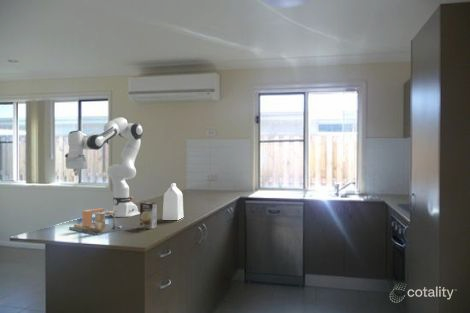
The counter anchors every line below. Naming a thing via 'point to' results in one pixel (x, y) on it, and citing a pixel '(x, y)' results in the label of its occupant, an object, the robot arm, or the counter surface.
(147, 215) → the coffee box
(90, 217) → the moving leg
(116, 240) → the counter surface
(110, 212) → the fixed leg
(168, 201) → the milk
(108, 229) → the hole plate
